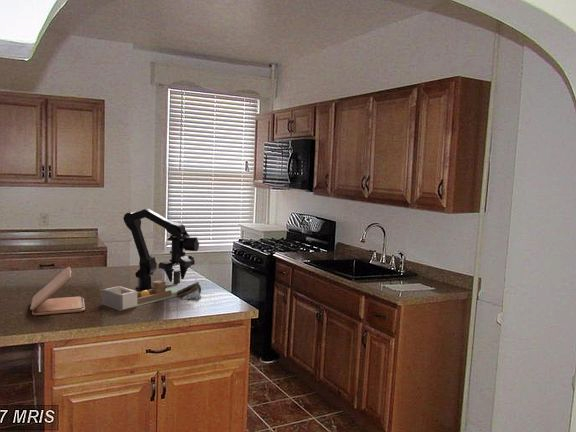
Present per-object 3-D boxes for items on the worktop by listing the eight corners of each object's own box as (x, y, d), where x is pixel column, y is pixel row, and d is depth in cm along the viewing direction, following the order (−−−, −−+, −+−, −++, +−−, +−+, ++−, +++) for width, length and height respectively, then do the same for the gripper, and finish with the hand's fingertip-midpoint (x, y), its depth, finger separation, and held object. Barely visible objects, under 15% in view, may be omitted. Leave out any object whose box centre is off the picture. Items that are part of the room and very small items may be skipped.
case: (32, 302, 218) (32, 267, 216) (84, 299, 227) (84, 264, 225) (29, 317, 200) (28, 278, 198) (85, 312, 208) (85, 275, 206)
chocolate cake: (176, 301, 231) (195, 285, 231) (174, 293, 237) (193, 277, 237) (190, 312, 236) (208, 296, 235) (188, 304, 242) (206, 288, 242)
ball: (138, 298, 230) (138, 290, 229) (145, 296, 233) (145, 288, 233) (144, 300, 227) (144, 291, 227) (151, 298, 231) (151, 290, 230)
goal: (102, 303, 220) (102, 289, 219) (119, 299, 227) (119, 285, 226) (120, 310, 212) (120, 295, 211) (137, 305, 219) (137, 291, 218)
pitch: (102, 304, 220) (102, 298, 219) (172, 288, 252) (172, 283, 251) (120, 310, 212) (120, 304, 212) (190, 293, 244) (190, 287, 244)
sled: (152, 294, 236) (152, 274, 235) (175, 288, 248) (176, 270, 247) (158, 296, 234) (159, 276, 233) (182, 290, 245) (182, 271, 244)
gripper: (173, 254, 231) (172, 287, 233) (202, 249, 246) (201, 280, 248) (158, 250, 237) (157, 282, 239) (187, 246, 252) (186, 276, 254)
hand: (176, 280), depth 245 cm, fingers open, 7 cm apart
